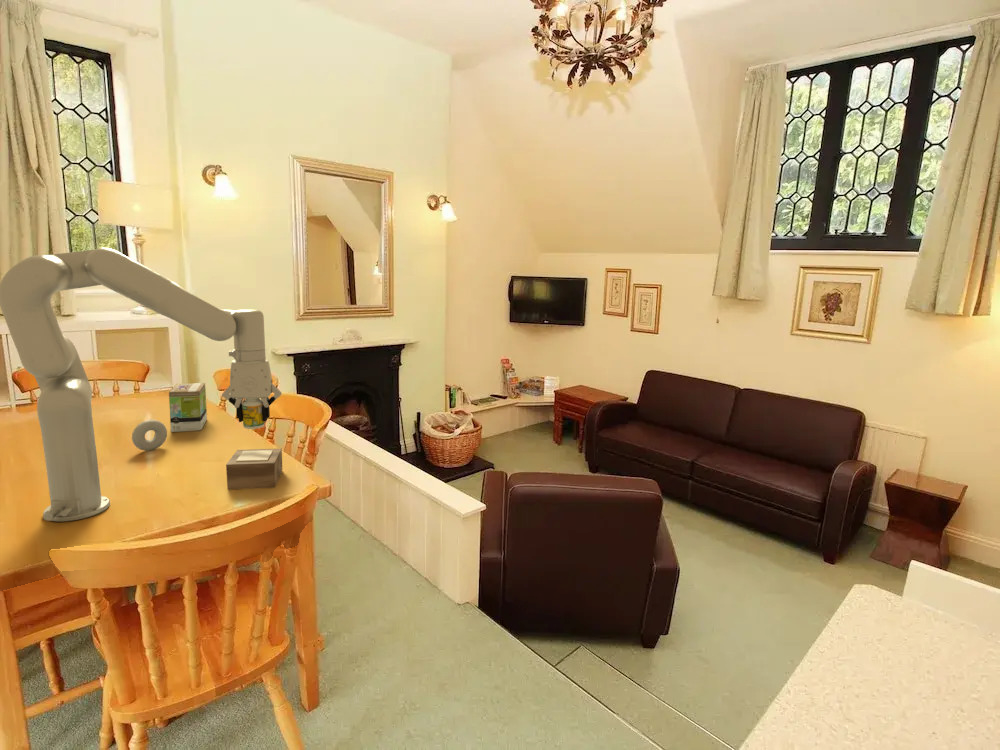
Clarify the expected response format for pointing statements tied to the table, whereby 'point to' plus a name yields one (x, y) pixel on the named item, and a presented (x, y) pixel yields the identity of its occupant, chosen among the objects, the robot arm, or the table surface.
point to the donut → (144, 427)
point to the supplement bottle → (252, 413)
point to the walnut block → (254, 468)
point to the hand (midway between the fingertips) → (253, 419)
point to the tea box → (187, 407)
